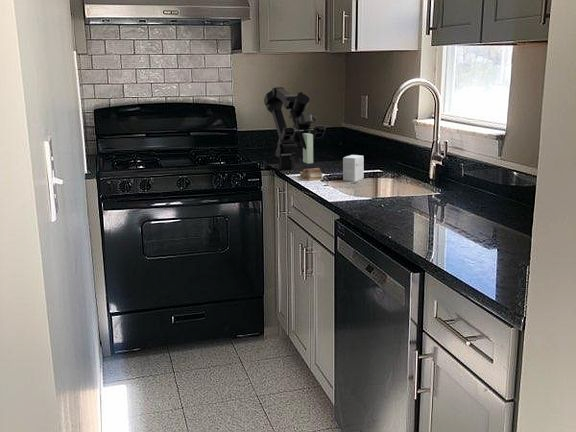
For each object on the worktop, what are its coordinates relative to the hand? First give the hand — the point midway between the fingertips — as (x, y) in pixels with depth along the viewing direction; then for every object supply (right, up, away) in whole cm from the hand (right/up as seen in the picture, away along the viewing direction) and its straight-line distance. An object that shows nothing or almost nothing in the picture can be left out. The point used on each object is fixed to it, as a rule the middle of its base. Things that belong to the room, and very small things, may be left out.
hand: (309, 148), depth 270 cm
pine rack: (+1, -13, +3) cm, 13 cm away
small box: (+18, -14, -3) cm, 23 cm away
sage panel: (0, -6, +3) cm, 6 cm away
